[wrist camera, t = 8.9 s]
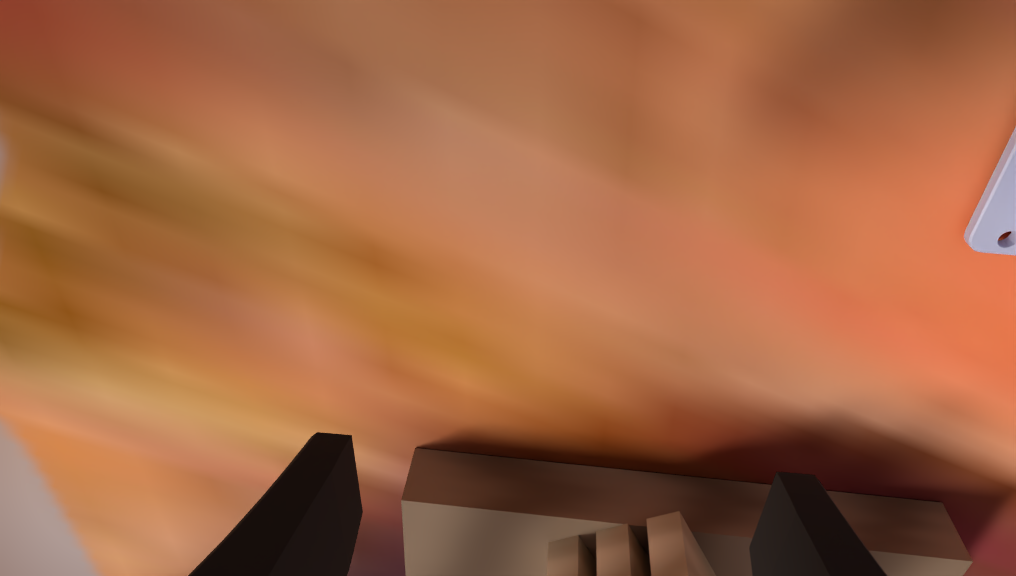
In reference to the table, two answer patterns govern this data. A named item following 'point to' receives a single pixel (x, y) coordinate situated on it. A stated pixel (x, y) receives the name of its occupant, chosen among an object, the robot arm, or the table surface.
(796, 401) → the table surface
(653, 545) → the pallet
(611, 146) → the table surface
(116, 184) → the table surface
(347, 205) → the table surface
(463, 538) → the dock
